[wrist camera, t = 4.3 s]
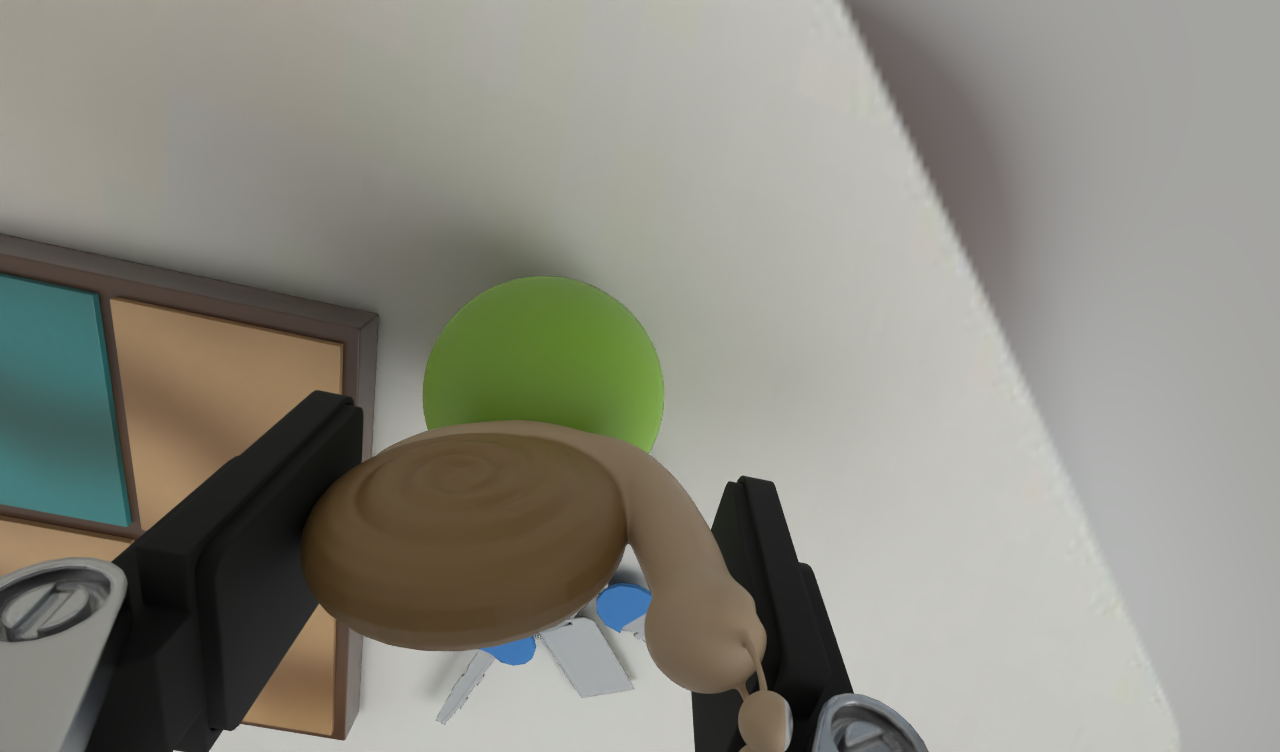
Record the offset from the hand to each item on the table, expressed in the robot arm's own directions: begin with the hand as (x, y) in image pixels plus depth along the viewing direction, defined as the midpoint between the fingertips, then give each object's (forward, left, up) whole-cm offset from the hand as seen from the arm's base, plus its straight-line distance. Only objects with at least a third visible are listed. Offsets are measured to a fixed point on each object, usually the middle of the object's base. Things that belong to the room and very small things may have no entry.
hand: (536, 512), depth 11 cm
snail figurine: (0, 0, -7) cm, 7 cm away
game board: (+8, -12, -7) cm, 16 cm away
